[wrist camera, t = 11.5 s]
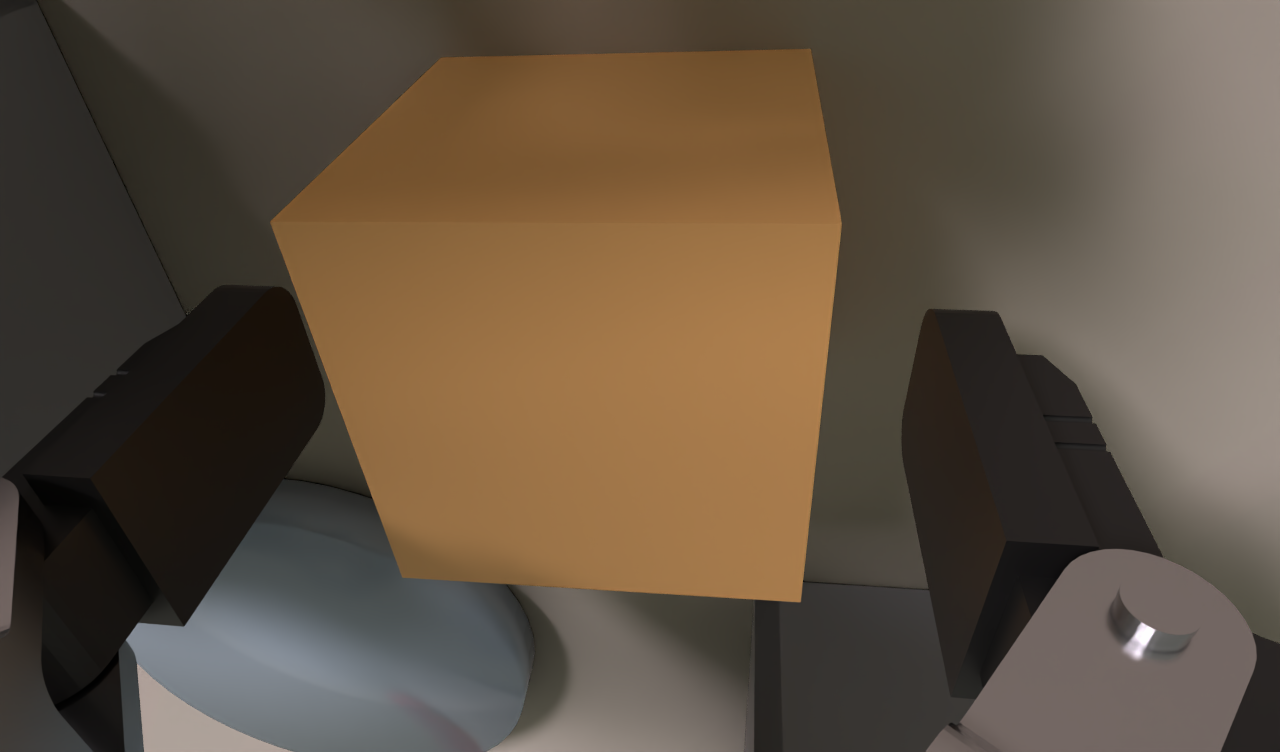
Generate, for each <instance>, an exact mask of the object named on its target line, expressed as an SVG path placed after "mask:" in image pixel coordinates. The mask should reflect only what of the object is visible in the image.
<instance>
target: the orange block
mask: <svg viewBox="0 0 1280 752" xmlns="http://www.w3.org/2000/svg"><path fill="white" fill-rule="evenodd" d="M270 223H271V226H272V229H273V232H274V234H275V237H276V240H277V242H278V245H279V248H280V250H281V253H282V256H283V258H284V261H285V264H286V266H287V269H288V272H289V275H290V277H291V280H292V283H293V285H294V288H295V291H296V293H297V296H298V299H299V301H300V304H301V307H302V309H303V312H304V315H305V317H306V320H307V323H308V326H309V328H310V331H311V334H312V336H313V339H314V342H315V344H316V347H317V350H318V352H319V355H320V358H321V360H322V363H323V366H324V369H325V371H326V374H327V377H328V379H329V382H330V385H331V387H332V390H333V393H334V395H335V398H336V401H337V403H338V406H339V409H340V412H341V414H342V417H343V420H344V422H345V425H346V428H347V430H348V433H349V436H350V438H351V441H352V444H353V446H354V449H355V452H356V454H357V457H358V460H359V463H360V465H361V468H362V471H363V473H364V476H365V479H366V481H367V484H368V487H369V489H370V492H371V495H372V497H373V500H374V503H375V506H376V508H377V511H378V514H379V516H380V519H381V522H382V524H383V527H384V530H385V532H386V535H387V538H388V540H389V543H390V546H391V549H392V551H393V554H394V557H395V559H396V562H397V565H398V567H399V570H400V573H401V575H402V578H416V579H432V580H448V581H464V582H480V583H497V584H513V585H529V586H545V587H561V588H577V589H593V590H609V591H626V592H642V593H658V594H674V595H690V596H706V597H722V598H738V599H755V600H771V601H787V602H801V595H802V585H803V576H804V567H805V558H806V549H807V540H808V530H809V521H810V512H811V503H812V494H813V485H814V475H815V466H816V457H817V448H818V439H819V430H820V420H821V411H822V402H823V393H824V384H825V374H826V365H827V356H828V347H829V338H830V329H831V319H832V310H833V301H834V292H835V283H836V274H837V264H838V255H839V246H840V237H841V228H842V221H841V216H840V210H839V204H838V199H837V193H836V187H835V182H834V176H833V171H832V165H831V159H830V154H829V148H828V142H827V137H826V131H825V126H824V120H823V114H822V109H821V103H820V97H819V92H818V86H817V81H816V75H815V69H814V64H813V58H812V52H811V49H780V50H738V51H695V52H652V53H610V54H567V55H524V56H482V57H441V58H440V59H439V60H438V61H437V62H436V63H435V64H434V65H433V66H432V67H431V68H430V69H429V70H427V71H426V72H425V73H424V74H423V75H422V76H421V77H420V78H419V79H418V80H417V81H416V82H415V83H414V84H413V85H412V86H411V87H410V88H409V89H408V90H407V91H406V92H405V93H404V94H402V95H401V96H400V97H399V98H398V99H397V100H396V101H395V102H394V103H393V104H392V105H391V106H390V107H389V108H388V109H387V110H386V111H385V112H384V113H383V114H382V115H381V116H380V117H379V118H377V119H376V120H375V121H374V122H373V123H372V124H371V125H370V126H369V127H368V128H367V129H366V130H365V131H364V132H363V133H362V134H361V135H360V136H359V137H358V138H357V139H356V140H355V141H354V142H352V143H351V144H350V145H349V146H348V147H347V148H346V149H345V150H344V151H343V152H342V153H341V154H340V155H339V156H338V157H337V158H336V159H335V160H334V161H333V162H332V163H331V164H330V165H329V166H327V167H326V168H325V169H324V170H323V171H322V172H321V173H320V174H319V175H318V176H317V177H316V178H315V179H314V180H313V181H312V182H311V183H310V184H309V185H308V186H307V187H306V188H305V189H303V190H302V191H301V192H300V193H299V194H298V195H297V196H296V197H295V198H294V199H293V200H292V201H291V202H290V203H289V204H288V205H287V206H286V207H285V208H284V209H283V210H282V211H281V212H280V213H278V214H277V215H276V216H275V217H274V218H273V219H272V220H271V221H270Z"/></svg>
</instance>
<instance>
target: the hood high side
mask: <svg viewBox="0 0 1280 752" xmlns="http://www.w3.org/2000/svg"><path fill="white" fill-rule="evenodd" d="M185 317H186V315H185V313H184V311H183V309H182V307H181V305H180V303H179V301H178V299H177V296H176V294H175V292H174V290H173V288H172V286H171V284H170V282H169V280H168V277H167V275H166V273H165V271H164V269H163V267H162V265H161V263H160V261H159V258H158V256H157V254H156V252H155V250H154V248H153V246H152V244H151V242H150V240H149V237H148V235H147V233H146V231H145V229H144V227H143V225H142V223H141V221H140V218H139V216H138V214H137V212H136V210H135V208H134V206H133V204H132V202H131V199H130V197H129V195H128V193H127V191H126V189H125V187H124V185H123V183H122V180H121V178H120V176H119V174H118V172H117V170H116V168H115V166H114V164H113V162H112V159H111V157H110V155H109V153H108V151H107V149H106V147H105V145H104V143H103V140H102V138H101V136H100V134H99V132H98V130H97V128H96V126H95V124H94V121H93V119H92V117H91V115H90V113H89V111H88V109H87V107H86V105H85V102H84V100H83V98H82V96H81V94H80V92H79V90H78V88H77V86H76V84H75V81H74V79H73V77H72V75H71V73H70V71H69V69H68V67H67V65H66V62H65V60H64V58H63V56H62V54H61V52H60V50H59V48H58V46H57V43H56V41H55V39H54V37H53V35H52V33H51V31H50V29H49V27H48V24H47V22H46V20H45V18H44V16H43V14H42V12H41V10H40V8H39V6H38V3H37V1H36V0H0V477H2V476H3V475H5V474H6V473H7V472H8V471H9V470H10V469H11V468H12V467H13V466H14V465H15V464H16V463H17V462H18V461H19V460H21V459H22V458H23V457H24V456H25V455H26V454H27V453H28V452H29V451H30V450H31V449H32V448H33V447H34V446H35V445H37V444H38V443H39V442H40V441H41V440H42V439H43V438H44V437H45V436H46V435H47V434H48V433H49V432H50V431H52V430H53V429H54V428H55V427H56V426H57V425H58V424H59V423H60V422H61V421H62V420H63V419H64V418H65V417H66V416H68V415H69V414H70V413H71V412H72V411H73V410H74V409H75V408H76V407H77V406H78V405H79V404H80V403H81V402H82V401H84V400H85V399H86V398H87V397H93V395H94V393H93V391H94V390H95V389H96V388H97V387H98V386H100V385H101V384H102V383H103V382H104V381H105V380H106V379H107V378H108V377H109V376H110V375H116V374H117V369H118V368H119V367H120V366H121V365H122V364H123V363H124V362H125V361H126V360H127V359H128V358H129V357H130V356H132V355H133V354H134V353H135V352H136V351H137V350H138V349H139V348H140V347H141V346H142V345H143V344H144V343H146V342H148V341H150V340H151V339H153V338H155V337H157V336H158V335H160V334H162V333H164V332H165V331H167V330H169V329H171V328H172V327H174V326H176V325H178V324H179V323H180V322H181V321H182V320H183V319H184V318H185Z"/></svg>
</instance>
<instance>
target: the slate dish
mask: <svg viewBox="0 0 1280 752" xmlns="http://www.w3.org/2000/svg"><path fill="white" fill-rule="evenodd" d="M126 641H127V642H128V643H129V645H130V646H131V648H132V649H133V651H134V653H135V656H136V662H137V664H138V665H140V666H141V667H142V668H143V669H144V670H145V671H146V672H147V673H148V674H149V675H150V676H151V677H152V678H153V679H155V680H156V681H157V682H158V683H160V684H161V685H162V686H163V687H165V688H166V689H167V690H168V691H170V692H171V693H172V694H174V695H175V696H177V697H178V698H180V699H181V700H183V701H184V702H186V703H187V704H189V705H190V706H192V707H194V708H195V709H197V710H199V711H200V712H202V713H204V714H205V715H207V716H209V717H211V718H213V719H215V720H217V721H219V722H221V723H223V724H225V725H226V726H228V727H230V728H233V729H235V730H237V731H239V732H242V733H244V734H246V735H249V736H251V737H253V738H256V739H258V740H261V741H264V742H266V743H269V744H272V745H275V746H277V747H280V748H284V749H287V750H290V751H293V752H486V751H488V750H490V749H491V748H493V747H495V746H496V745H498V744H499V743H500V742H501V741H503V740H504V739H505V738H506V737H507V736H508V735H509V734H510V733H511V731H512V730H513V728H514V727H515V726H516V724H517V722H518V720H519V717H520V715H521V712H522V709H523V705H524V701H525V697H526V693H527V689H528V685H529V681H530V676H531V672H532V668H533V663H534V655H535V648H534V639H533V634H532V630H531V627H530V624H529V621H528V619H527V617H526V615H525V613H524V611H523V609H522V607H521V605H520V604H519V602H518V600H517V599H516V598H515V596H514V595H513V594H512V592H511V591H510V590H509V588H508V587H507V585H506V584H497V583H480V582H464V581H448V580H432V579H416V578H402V575H401V573H400V570H399V567H398V565H397V562H396V559H395V557H394V554H393V551H392V549H391V546H390V543H389V540H388V538H387V535H386V532H385V530H384V527H383V524H382V522H381V519H380V516H379V514H378V511H377V508H376V506H375V503H374V500H373V499H370V498H368V497H365V496H362V495H359V494H355V493H352V492H348V491H344V490H341V489H337V488H334V487H329V486H324V485H319V484H314V483H309V482H303V481H296V480H286V479H283V480H282V482H281V483H280V485H279V486H278V488H277V489H276V491H275V492H274V494H273V495H272V497H271V498H270V500H269V501H268V503H267V504H266V506H265V507H264V509H263V510H262V512H261V513H260V515H259V516H258V518H257V519H256V521H255V522H254V524H253V525H252V527H251V528H250V530H249V531H248V533H247V534H246V536H245V537H244V539H243V540H242V541H241V543H240V544H239V546H238V547H237V549H236V550H235V552H234V553H233V555H232V556H231V558H230V559H229V561H228V562H227V564H226V565H225V567H224V568H223V570H222V571H221V573H220V574H219V576H218V577H217V579H216V580H215V582H214V583H213V585H212V586H211V588H210V589H209V591H208V592H207V594H206V595H205V597H204V598H203V600H202V601H201V603H200V604H199V606H198V607H197V609H196V610H195V612H194V613H193V615H192V616H191V618H190V619H189V621H188V622H187V624H186V625H185V626H184V627H181V626H169V625H158V624H146V623H138V624H137V625H136V627H135V628H134V629H133V631H132V632H131V634H130V635H129V636H128V638H127V639H126Z"/></svg>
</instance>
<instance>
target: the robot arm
mask: <svg viewBox="0 0 1280 752" xmlns="http://www.w3.org/2000/svg"><path fill="white" fill-rule="evenodd" d="M93 393H94V395H93V397H87V398H86V399H85V400H84V401H82V402H81V403H80V404H79V405H78V406H77V407H76V408H75V409H74V410H73V411H72V412H71V413H70V414H69V415H68V416H66V417H65V418H64V419H63V420H62V421H61V422H60V423H59V424H58V425H57V426H56V427H55V428H54V429H53V430H52V431H50V432H49V433H48V434H47V435H46V436H45V437H44V438H43V439H42V440H41V441H40V442H39V443H38V444H37V445H35V446H34V447H33V448H32V449H31V450H30V451H29V452H28V453H27V454H26V455H25V456H24V457H23V458H22V459H21V460H19V461H18V462H17V463H16V464H15V465H14V466H13V467H12V468H11V469H10V470H9V471H8V472H7V473H6V474H5V475H3V476H2V477H0V752H144V747H143V735H142V722H141V710H140V698H139V686H138V674H137V662H136V656H135V653H134V651H133V649H132V648H131V646H130V645H129V643H128V642H127V641H126V639H127V638H128V636H129V635H130V634H131V632H132V631H133V629H134V628H135V627H136V625H137V624H138V623H146V624H158V625H169V626H181V627H184V626H185V625H186V624H187V622H188V621H189V619H190V618H191V616H192V615H193V613H194V612H195V610H196V609H197V607H198V606H199V604H200V603H201V601H202V600H203V598H204V597H205V595H206V594H207V592H208V591H209V589H210V588H211V586H212V585H213V583H214V582H215V580H216V579H217V577H218V576H219V574H220V573H221V571H222V570H223V568H224V567H225V565H226V564H227V562H228V561H229V559H230V558H231V556H232V555H233V553H234V552H235V550H236V549H237V547H238V546H239V544H240V543H241V541H242V540H243V539H244V537H245V536H246V534H247V533H248V531H249V530H250V528H251V527H252V525H253V524H254V522H255V521H256V519H257V518H258V516H259V515H260V513H261V512H262V510H263V509H264V507H265V506H266V504H267V503H268V501H269V500H270V498H271V497H272V495H273V494H274V492H275V491H276V489H277V488H278V486H279V485H280V483H281V482H282V480H283V479H284V477H285V476H286V474H287V473H288V471H289V470H290V468H291V467H292V465H293V464H294V462H295V461H296V459H297V458H298V456H299V455H300V454H301V452H302V451H303V449H304V448H305V446H306V445H307V443H308V442H309V440H310V439H311V437H312V436H313V434H314V433H315V431H316V430H317V428H318V426H319V424H320V422H321V420H322V416H323V413H324V407H325V388H324V383H323V379H322V376H321V373H320V371H319V368H318V365H317V362H316V359H315V356H314V353H313V351H312V348H311V345H310V342H309V339H308V336H307V334H306V331H305V328H304V325H303V322H302V319H301V316H300V314H299V311H298V308H297V305H296V303H295V300H294V299H293V297H292V295H291V294H290V293H289V292H288V291H287V290H286V289H284V288H282V287H274V286H243V285H223V286H220V287H218V288H216V289H215V290H214V291H213V292H212V293H210V294H209V295H208V296H207V297H206V298H205V299H204V300H203V301H202V302H201V303H200V304H199V305H198V306H197V307H196V308H195V309H194V310H193V311H192V312H191V313H190V314H189V315H188V316H186V317H185V318H184V319H183V320H182V321H181V322H180V323H179V324H178V325H176V326H174V327H172V328H171V329H169V330H167V331H165V332H164V333H162V334H160V335H158V336H157V337H155V338H153V339H151V340H150V341H148V342H146V343H144V344H143V345H142V346H141V347H140V348H139V349H138V350H137V351H136V352H135V353H134V354H133V355H132V356H130V357H129V358H128V359H127V360H126V361H125V362H124V363H123V364H122V365H121V366H120V367H119V368H118V369H117V374H116V375H110V376H109V377H108V378H107V379H106V380H105V381H104V382H103V383H102V384H101V385H100V386H98V387H97V388H96V389H95V390H94V391H93ZM901 442H902V457H903V463H904V468H905V473H906V478H907V483H908V488H909V493H910V498H911V503H912V508H913V513H914V518H915V523H916V528H917V533H918V538H919V543H920V548H921V553H922V558H923V562H924V567H925V572H926V577H927V582H928V587H929V592H930V597H931V602H932V607H933V612H934V617H935V622H936V627H937V632H938V637H939V642H940V647H941V652H942V657H943V662H944V667H945V672H946V677H947V682H948V686H949V691H950V696H951V697H954V698H966V699H976V700H975V701H974V703H973V704H972V706H971V707H970V709H969V710H968V711H967V713H966V714H965V716H964V717H963V718H962V720H961V721H960V722H959V723H958V724H957V725H955V724H954V723H949V724H948V725H947V726H946V727H945V728H944V729H943V730H942V731H941V732H940V733H939V734H938V736H937V737H936V738H935V740H934V741H933V742H932V743H931V745H930V746H929V748H928V749H927V750H926V752H1280V644H1279V643H1276V642H1274V641H1271V640H1268V639H1265V638H1262V637H1260V636H1258V635H1256V634H1254V633H1252V632H1251V630H1250V628H1249V626H1248V624H1247V622H1246V620H1245V619H1244V617H1243V616H1242V615H1241V613H1240V612H1239V611H1238V609H1237V608H1236V607H1235V606H1234V604H1233V603H1232V602H1231V601H1230V600H1229V599H1228V598H1227V597H1226V596H1225V595H1224V594H1223V593H1222V592H1220V591H1219V590H1218V589H1217V588H1216V587H1214V586H1213V585H1212V584H1211V583H1209V582H1208V581H1206V580H1205V579H1203V578H1202V577H1200V576H1199V575H1197V574H1196V573H1194V572H1192V571H1190V570H1188V569H1187V568H1185V567H1183V566H1181V565H1179V564H1176V563H1174V562H1172V561H1169V560H1167V559H1165V558H1163V556H1162V554H1161V552H1160V550H1159V548H1158V546H1157V544H1156V542H1155V540H1154V538H1153V536H1152V534H1151V532H1150V530H1149V528H1148V526H1147V524H1146V522H1145V520H1144V518H1143V516H1142V514H1141V512H1140V510H1139V508H1138V506H1137V504H1136V502H1135V500H1134V498H1133V497H1132V495H1131V493H1130V491H1129V489H1128V487H1127V485H1126V483H1125V481H1124V479H1123V477H1122V475H1121V473H1120V471H1119V469H1118V467H1117V465H1116V463H1115V461H1114V459H1113V457H1112V455H1111V453H1110V452H1106V443H1105V441H1104V439H1103V437H1102V435H1101V433H1100V431H1099V429H1098V427H1097V425H1096V424H1092V415H1091V413H1090V411H1089V409H1088V407H1087V405H1086V403H1085V402H1084V400H1083V398H1082V396H1081V394H1080V392H1079V390H1078V388H1077V386H1076V384H1075V383H1074V382H1073V381H1071V380H1070V379H1069V378H1068V377H1067V376H1066V375H1064V374H1063V373H1062V372H1061V371H1060V370H1059V369H1057V368H1056V367H1055V366H1054V365H1053V364H1052V363H1051V362H1049V361H1048V360H1047V359H1046V358H1045V357H1044V356H1042V355H1017V354H1016V352H1015V349H1014V347H1013V345H1012V343H1011V340H1010V338H1009V336H1008V333H1007V331H1006V329H1005V326H1004V324H1003V322H1002V319H1001V317H1000V315H999V314H998V313H997V312H995V311H978V310H946V309H929V310H928V311H927V312H926V314H925V316H924V319H923V322H922V326H921V330H920V335H919V340H918V345H917V349H916V354H915V359H914V364H913V368H912V373H911V378H910V383H909V387H908V392H907V397H906V402H905V406H904V412H903V419H902V436H901Z"/></svg>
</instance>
